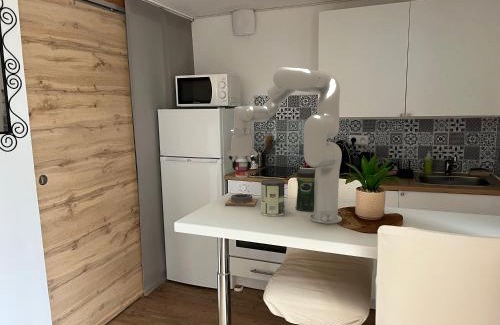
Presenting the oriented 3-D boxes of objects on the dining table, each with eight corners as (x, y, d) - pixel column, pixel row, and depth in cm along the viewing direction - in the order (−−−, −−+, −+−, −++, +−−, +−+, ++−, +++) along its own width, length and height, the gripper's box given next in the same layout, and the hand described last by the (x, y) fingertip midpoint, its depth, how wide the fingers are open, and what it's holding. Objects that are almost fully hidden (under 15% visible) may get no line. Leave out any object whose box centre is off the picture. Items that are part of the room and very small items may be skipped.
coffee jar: (318, 208, 169) (319, 168, 167) (316, 212, 161) (317, 170, 159) (297, 206, 172) (298, 167, 170) (294, 210, 164) (295, 169, 162)
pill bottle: (235, 175, 180) (235, 153, 179) (247, 175, 181) (247, 153, 180) (235, 177, 174) (235, 154, 173) (248, 177, 175) (248, 154, 174)
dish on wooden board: (254, 206, 171) (254, 199, 171) (225, 205, 173) (225, 198, 173) (257, 200, 185) (257, 193, 185) (230, 199, 187) (230, 192, 186)
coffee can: (277, 209, 166) (278, 178, 165) (288, 215, 157) (289, 182, 155) (257, 211, 162) (257, 180, 161) (266, 217, 153) (266, 183, 151)
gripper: (222, 132, 173) (222, 170, 175) (259, 132, 171) (258, 171, 173) (225, 132, 180) (225, 168, 182) (260, 132, 178) (260, 169, 180)
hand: (241, 169), depth 177 cm, fingers closed on pill bottle, 6 cm apart
